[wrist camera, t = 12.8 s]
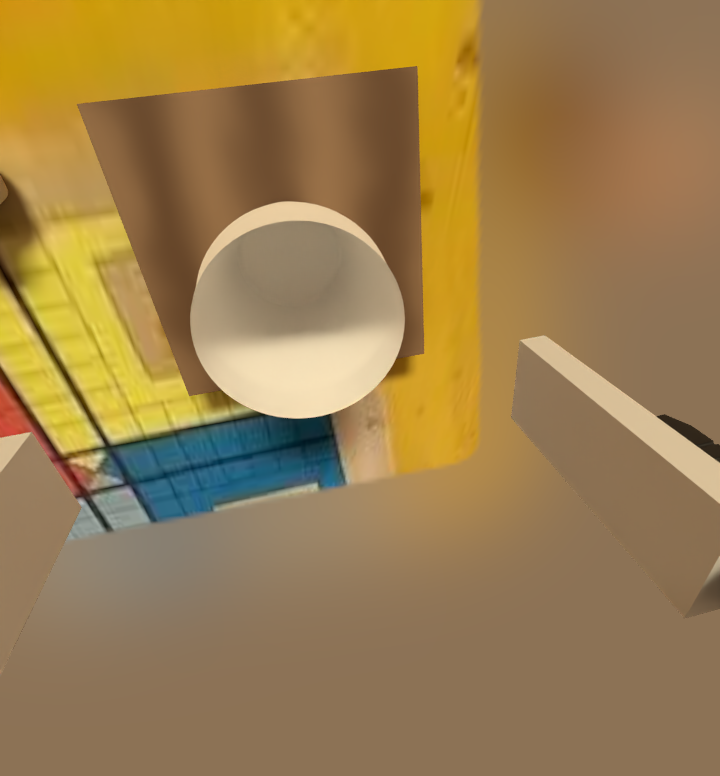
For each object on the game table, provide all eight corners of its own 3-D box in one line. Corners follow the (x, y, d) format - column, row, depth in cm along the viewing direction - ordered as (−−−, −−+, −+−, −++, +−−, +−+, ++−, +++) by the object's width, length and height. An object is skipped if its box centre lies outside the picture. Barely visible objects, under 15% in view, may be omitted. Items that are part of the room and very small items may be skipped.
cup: (349, 325, 31) (388, 423, 21) (218, 316, 29) (191, 420, 19) (369, 190, 26) (430, 230, 16) (215, 167, 24) (176, 198, 14)
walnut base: (197, 370, 35) (189, 395, 31) (102, 107, 25) (76, 104, 22) (409, 332, 36) (424, 353, 33) (398, 73, 27) (417, 66, 23)
